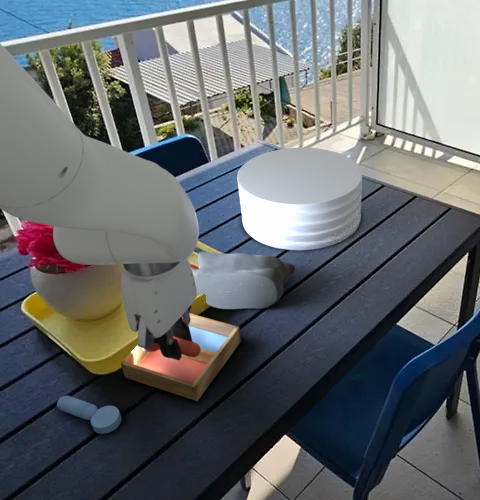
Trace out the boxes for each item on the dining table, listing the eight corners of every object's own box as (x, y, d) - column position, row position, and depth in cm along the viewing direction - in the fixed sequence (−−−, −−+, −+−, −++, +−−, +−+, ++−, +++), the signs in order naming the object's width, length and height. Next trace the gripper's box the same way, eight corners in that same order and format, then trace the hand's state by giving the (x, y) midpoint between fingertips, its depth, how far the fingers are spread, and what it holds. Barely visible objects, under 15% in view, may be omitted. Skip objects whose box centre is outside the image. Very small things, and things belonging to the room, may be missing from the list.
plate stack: (378, 237, 112) (381, 193, 106) (254, 260, 104) (249, 213, 98) (339, 182, 134) (339, 141, 127) (234, 197, 126) (228, 155, 119)
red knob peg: (135, 348, 76) (132, 338, 75) (151, 331, 79) (148, 321, 78) (193, 365, 74) (190, 355, 72) (207, 347, 77) (205, 337, 75)
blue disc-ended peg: (127, 415, 73) (123, 406, 72) (109, 437, 70) (104, 427, 69) (71, 396, 76) (67, 386, 74) (52, 416, 73) (46, 406, 72)
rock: (296, 273, 101) (294, 241, 97) (289, 311, 92) (287, 278, 87) (206, 271, 101) (200, 239, 97) (190, 308, 92) (183, 275, 88)
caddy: (197, 401, 75) (194, 387, 74) (125, 377, 79) (120, 363, 77) (241, 340, 86) (239, 326, 84) (176, 322, 89) (172, 308, 87)
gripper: (165, 217, 73) (186, 310, 83) (84, 283, 60) (122, 382, 71) (210, 227, 71) (226, 321, 81) (135, 297, 58) (166, 397, 69)
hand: (177, 349), depth 76 cm, fingers closed on red knob peg, 2 cm apart
